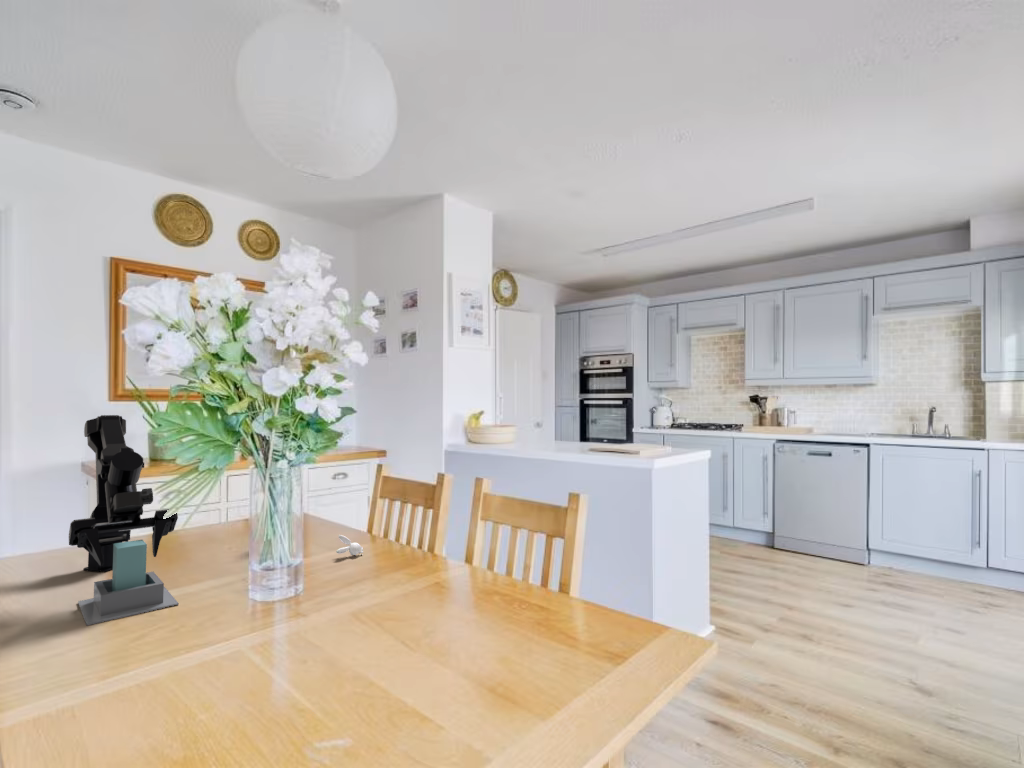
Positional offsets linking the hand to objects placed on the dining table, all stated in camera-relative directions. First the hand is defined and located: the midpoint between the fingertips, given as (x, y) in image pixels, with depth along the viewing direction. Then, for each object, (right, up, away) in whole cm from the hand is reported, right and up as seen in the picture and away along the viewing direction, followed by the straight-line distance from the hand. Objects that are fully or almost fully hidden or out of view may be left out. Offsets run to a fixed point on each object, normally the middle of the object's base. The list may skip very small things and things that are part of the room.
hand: (129, 560), depth 112 cm
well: (0, -9, -1) cm, 9 cm away
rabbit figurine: (+35, -11, +35) cm, 50 cm away
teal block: (0, -8, -1) cm, 9 cm away
